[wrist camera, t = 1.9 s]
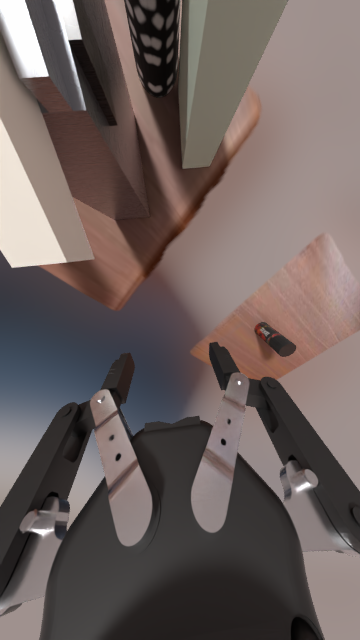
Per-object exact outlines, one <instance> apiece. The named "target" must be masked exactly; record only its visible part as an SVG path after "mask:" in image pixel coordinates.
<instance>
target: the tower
mask: <svg viewBox="0 0 360 640" xmlns="http://www.w3.org/2000/svg"><path fill="white" fill-rule="evenodd" d="M0 30H1V33H2V35H3V38H4V41H5V43H6V46H7V48H8V51H9V54H10V56H11V59H12V61H13V64H14V67H15V69H16V72H17V74H18V77H19V79H20V80H21V81H22V82H23V83H24V85H25V86H26V87H27V88H28V89H29V90H30V91H31V93H32V94H33V95H34V96H35V97H36V99H37V102H38V104H39V107H40V110H41V113H42V115H43V118H44V121H45V124H46V126H47V129H48V132H49V135H50V137H51V140H52V143H53V146H54V148H55V151H56V154H57V157H58V159H59V162H60V165H61V168H62V170H63V173H64V176H65V179H66V181H67V184H68V187H69V190H70V192H71V195H72V197H74V198H76V199H78V200H80V201H81V202H83V203H85V204H87V205H89V206H90V207H92V208H94V209H96V210H98V211H100V212H101V213H103V214H105V215H107V216H109V217H110V218H112V219H114V220H120V219H132V218H143V217H150V214H149V207H148V201H147V194H146V188H145V181H144V175H143V168H142V162H141V155H140V149H139V142H138V136H137V130H136V123H135V117H134V112H133V108H132V104H131V100H130V96H129V93H128V89H127V85H126V81H125V77H124V74H123V70H122V66H121V62H120V58H119V55H118V51H117V47H116V43H115V39H114V36H113V32H112V28H111V24H110V20H109V17H108V13H107V9H106V5H105V1H104V0H0Z"/></svg>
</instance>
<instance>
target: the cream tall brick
mask: <svg viewBox="0 0 360 640" xmlns="http://www.w3.org/2000/svg"><path fill="white" fill-rule="evenodd" d="M0 250H1V252H2V253H3V255H4V256H5V258H6V259H7V261H8V262H9V263H10V265H11V267H24V266H34V265H45V264H55V263H66V262H75V261H83V260H92V259H95V258H94V256H93V253H92V250H91V247H90V245H89V242H88V239H87V236H86V234H85V231H84V228H83V225H82V223H81V220H80V217H79V214H78V212H77V209H76V206H75V203H74V201H73V198H72V195H71V192H70V190H69V187H68V184H67V181H66V179H65V176H64V173H63V170H62V168H61V165H60V162H59V159H58V157H57V154H56V151H55V148H54V146H53V143H52V140H51V137H50V135H49V132H48V129H47V126H46V124H45V121H44V118H43V115H42V113H41V110H40V107H39V104H38V102H37V99H36V97H35V96H34V95H33V94H32V93H31V91H30V90H29V89H28V88H27V87H26V86H25V85H24V83H23V82H22V81H21V80H20V79H19V77H18V74H17V72H16V69H15V67H14V64H13V61H12V59H11V56H10V54H9V51H8V48H7V46H6V43H5V41H4V38H3V35H2V33H1V30H0Z"/></svg>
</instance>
